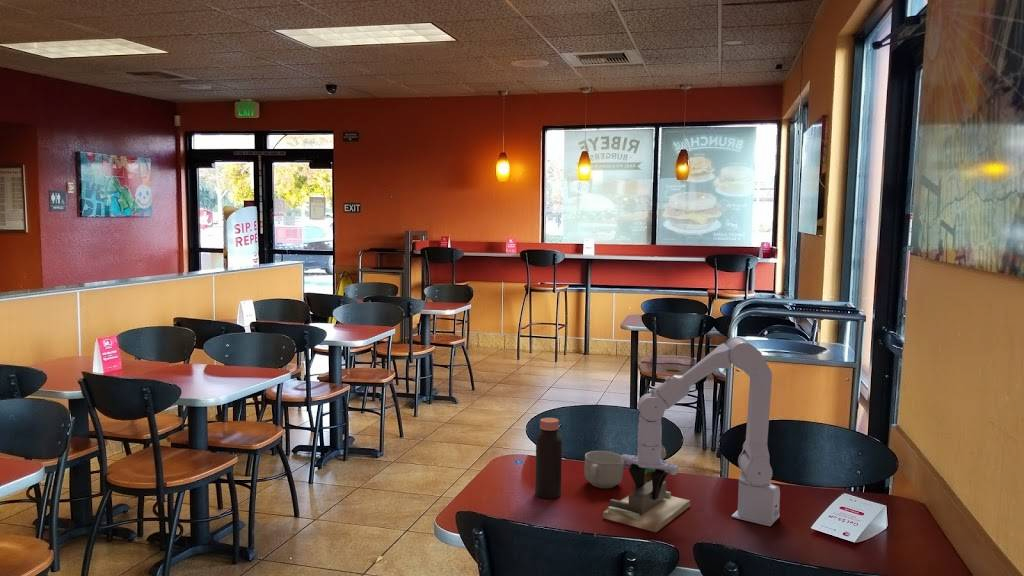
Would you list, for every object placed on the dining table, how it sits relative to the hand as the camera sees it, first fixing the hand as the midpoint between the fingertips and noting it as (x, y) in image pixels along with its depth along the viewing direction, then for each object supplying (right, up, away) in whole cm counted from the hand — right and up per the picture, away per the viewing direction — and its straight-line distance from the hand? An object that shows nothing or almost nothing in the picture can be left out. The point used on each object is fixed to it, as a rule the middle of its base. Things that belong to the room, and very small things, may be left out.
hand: (647, 496), depth 190 cm
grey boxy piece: (-2, -2, +2) cm, 3 cm away
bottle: (-24, -3, +11) cm, 27 cm away
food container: (+6, -2, +22) cm, 23 cm away
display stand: (0, -4, 0) cm, 4 cm away
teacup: (-10, -2, +18) cm, 21 cm away
